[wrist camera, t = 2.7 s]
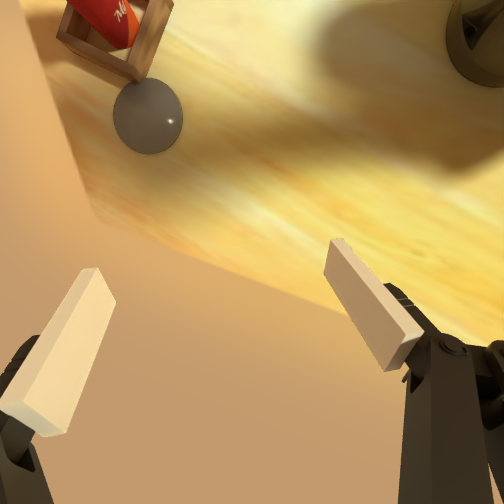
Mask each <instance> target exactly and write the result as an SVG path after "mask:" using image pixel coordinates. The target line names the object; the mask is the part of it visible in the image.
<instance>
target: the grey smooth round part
mask: <svg viewBox="0 0 504 504" xmlns="http://www.w3.org/2000/svg"><path fill="white" fill-rule="evenodd" d="M113 116H114V124H115V128H116V130H117V133H118V134H119V136H120V138H121V139H122V140H123V142H124V143H125V144H126V145H128V146H129V147H130V148H132V149H134V150H136V151H138V152H141V153H145V154H154V153H159V152H162V151H164V150H165V149H167V148H168V147H170V146H171V145H172V144H173V143H174V142H175V140H176V139H177V137H178V135H179V133H180V131H181V127H182V121H183V113H182V108H181V104H180V102H179V99H178V98H177V96H176V95H175V93H174V92H173V91H172V89H171V88H170V87H169V86H168V85H166V84H165V83H163V82H162V81H160V80H157V79H153V78H142V81H141V84H139V83H137V82H135V81H132V82H130V83H129V84H128V85H126V86H125V87H124V88H123V89H122V91H121V92H120V94H119V95H118V97H117V99H116V102H115V105H114V113H113Z"/></svg>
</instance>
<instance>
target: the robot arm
mask: <svg viewBox="0 0 504 504" xmlns="http://www.w3.org/2000/svg"><path fill="white" fill-rule="evenodd" d="M446 41H447V48H448V52H449V55H450V57H451V60H452V61H453V63H454V65H455V66H456V68H457V69H458V70H459V71H460V72H461V73H462V74H463V75H464V76H465V77H466V78H468V79H469V80H471V81H473V82H475V83H477V84H480V85H484V86H489V87H504V0H456V2H455V4H454V6H453V8H452V10H451V13H450V16H449V19H448V24H447V30H446ZM324 276H325V277H326V279H327V281H328V282H329V284H330V285H331V287H332V289H333V290H334V292H335V294H336V295H337V297H338V298H339V300H340V302H341V303H342V305H343V306H344V308H345V310H346V311H347V313H348V315H349V316H350V318H351V319H352V321H353V323H354V324H355V326H356V327H357V329H358V331H359V332H360V334H361V336H362V337H363V339H364V340H365V342H366V344H367V345H368V347H369V348H370V350H371V352H372V353H373V355H374V357H375V358H376V360H377V361H378V363H379V365H380V366H381V368H382V369H383V371H384V372H386V371H391V370H397V369H400V368H401V366H402V365H403V363H404V362H405V363H406V364H407V365H408V367H409V370H408V371H407V373H406V374H405V376H404V377H403V379H402V382H403V383H405V381H406V380H407V388H406V401H405V415H404V427H403V428H404V429H403V441H402V454H401V468H400V481H399V495H398V504H494V500H493V494H492V487H491V480H490V473H489V466H490V469H491V472H492V474H493V477H494V479H495V482H496V485H497V487H498V490H499V492H500V496H501V498H502V501H503V503H504V341H503V340H496V341H494V342H492V343H491V344H490V345H489V346H488V347H482V346H475V345H467V344H465V343H463V342H462V341H461V340H459V339H458V338H456V337H454V336H452V335H449V334H445V333H441V332H440V331H439V330H438V329H437V328H436V327H435V326H434V325H433V324H432V323H431V322H430V321H429V319H428V318H427V317H426V316H425V315H424V314H423V313H422V312H421V311H420V310H419V309H418V308H417V307H416V306H414V304H413V302H412V301H411V300H410V299H408V297H407V296H406V295H405V294H404V293H403V292H402V291H401V290H400V289H399V288H397V287H396V286H394V285H392V284H391V283H386V284H382V283H381V281H380V280H379V279H378V278H377V277H376V276H375V275H374V273H373V272H372V271H371V270H370V269H369V268H368V267H367V265H366V264H365V263H364V262H363V261H362V260H361V259H360V258H359V256H358V255H357V254H356V253H355V252H354V251H353V250H352V248H351V247H350V246H349V245H348V244H347V243H346V242H345V240H344V239H343V238H340V239H332V240H330V245H329V250H328V255H327V260H326V265H325V270H324ZM115 305H116V301H115V299H114V297H113V295H112V293H111V291H110V290H109V288H108V286H107V284H106V282H105V280H104V278H103V276H102V275H101V273H100V271H99V269H98V267H97V268H89V269H82V271H81V272H80V274H79V275H78V277H77V278H76V280H75V282H74V283H73V285H72V286H71V288H70V290H69V291H68V293H67V294H66V296H65V298H64V299H63V301H62V302H61V304H60V305H59V307H58V308H57V310H56V312H55V313H54V315H53V316H52V318H51V320H50V321H49V323H48V324H47V326H46V327H45V329H44V331H43V332H42V334H41V335H34V336H32V337H31V338H30V339H28V340H27V341H26V342H25V343H24V344H23V345H22V346H21V347H20V348H19V349H18V351H17V352H16V354H15V355H14V357H13V358H12V361H11V362H10V363H9V364H8V365H7V367H6V369H5V370H4V373H2V374H1V376H0V504H54V502H53V499H52V497H51V494H50V491H49V488H48V485H47V482H46V479H45V476H44V473H43V470H42V467H41V465H40V462H39V459H38V456H37V453H36V450H35V447H34V446H33V444H32V443H31V442H30V441H31V440H32V437H33V435H34V433H35V432H36V433H37V434H39V435H41V436H42V437H50V436H55V435H60V434H65V433H66V432H67V429H68V426H69V424H70V421H71V419H72V416H73V413H74V411H75V408H76V406H77V403H78V401H79V398H80V395H81V393H82V390H83V387H84V385H85V382H86V380H87V377H88V375H89V372H90V370H91V367H92V364H93V362H94V359H95V357H96V354H97V351H98V349H99V346H100V344H101V341H102V338H103V336H104V333H105V331H106V328H107V326H108V323H109V320H110V318H111V315H112V312H113V310H114V307H115ZM488 464H489V466H488Z"/></svg>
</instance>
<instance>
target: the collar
mask: <svg viewBox="0 0 504 504" xmlns="http://www.w3.org/2000/svg"><path fill="white" fill-rule="evenodd" d="M146 1H148V2H149V4H148V6H147V9H146V12H145V15H144V17H143V20H142V23H141V25H140V28H139V31H138V33H137V36H136V39H135V42H134V44H133V47H132V50H131V52H130V55H129V58H128V60H127V62H125V61H123V60H121V59H119V58H117V57H115V56H113V55H111V54H109V53H107V52H105V51H103V50H101V49H98V48H96V47H94V46H92V45H90V44H88V43H86V42H85V39H86V36H87V33H88V30H89V27H90V25H91V24H90V23H89V22H88V21H87V20H86V19H85V18H84V17H83V16H82V15H81V14H80V13H79V12H78V11H77V10H76V9H74V8H73V7H72V6H71V5H70V4H69V3H68V2H67V5H66V8H65V11H64V14H63V18H62V21H61V24H60V27H59V30H58V33H57V36H56V38H57V39H58V40H60V41H61V42H62V43H63V44H64V45H65V46H66V47H68V48H69V49H70V50H71V51H72V52H74V53H76V54H78V55H80V56H82V57H84V58H86V59H88V60H90V61H92V62H94V63H96V64H98V65H100V66H102V67H104V68H106V69H108V70H110V71H112V72H114V73H116V74H118V75H120V76H122V77H125V78H127V79H129V80H131V81H135V82H137V83H139V84H141V81H142V78H146V76H147V73H148V71H149V68H150V65H151V63H152V60H153V58H154V55H155V52H156V50H157V47H158V45H159V42H160V39H161V37H162V34H163V32H164V29H165V26H166V24H167V21H168V19H169V16H170V13H171V11H172V8H173V6H174V3H173V1H172V0H146Z"/></svg>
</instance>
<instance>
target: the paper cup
mask: <svg viewBox="0 0 504 504" xmlns="http://www.w3.org/2000/svg"><path fill="white" fill-rule="evenodd" d="M66 1H67V2H68V3H69V4H70V5H71V6H72V7H73V8H74V9H76V10H77V11H78V12H79V13H80V14H81V15H82V16H83V17H84V18H85V19H86V20H87V21H88V22H89V23H90V24H91V25H92V26H93V27H94V28H95V29H96V30H97V31H98V32H99V33H100V34H101V35H102V36H103V37H104V38H105V39H106V40H107V41H108V42H109V43H111V44H112V45H113V46H114V47H116V48H119V49H126V48H129V47H131V46H132V45H133V44H134V42H135V39H136V36H137V33H138V31H139V23H138V20H137V18H136V16H135V14H134V12H133V10H132V8H131V7H130V5H129V3H128V1H127V0H66Z"/></svg>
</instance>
